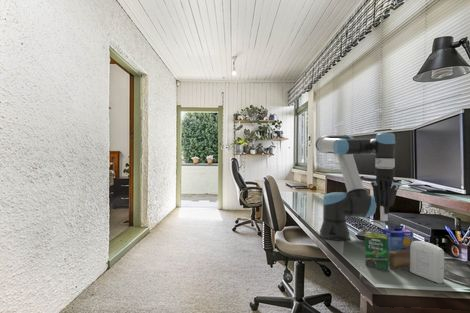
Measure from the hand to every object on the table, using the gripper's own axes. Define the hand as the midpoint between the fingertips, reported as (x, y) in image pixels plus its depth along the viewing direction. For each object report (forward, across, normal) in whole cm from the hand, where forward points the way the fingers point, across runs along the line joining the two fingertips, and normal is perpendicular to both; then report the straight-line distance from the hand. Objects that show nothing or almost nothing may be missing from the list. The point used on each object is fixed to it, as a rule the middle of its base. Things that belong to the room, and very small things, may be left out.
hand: (384, 220), depth 115 cm
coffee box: (+14, +11, -16) cm, 24 cm away
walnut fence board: (+14, +14, -1) cm, 20 cm away
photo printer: (+14, +23, -6) cm, 28 cm away
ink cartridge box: (+15, +7, -1) cm, 16 cm away
